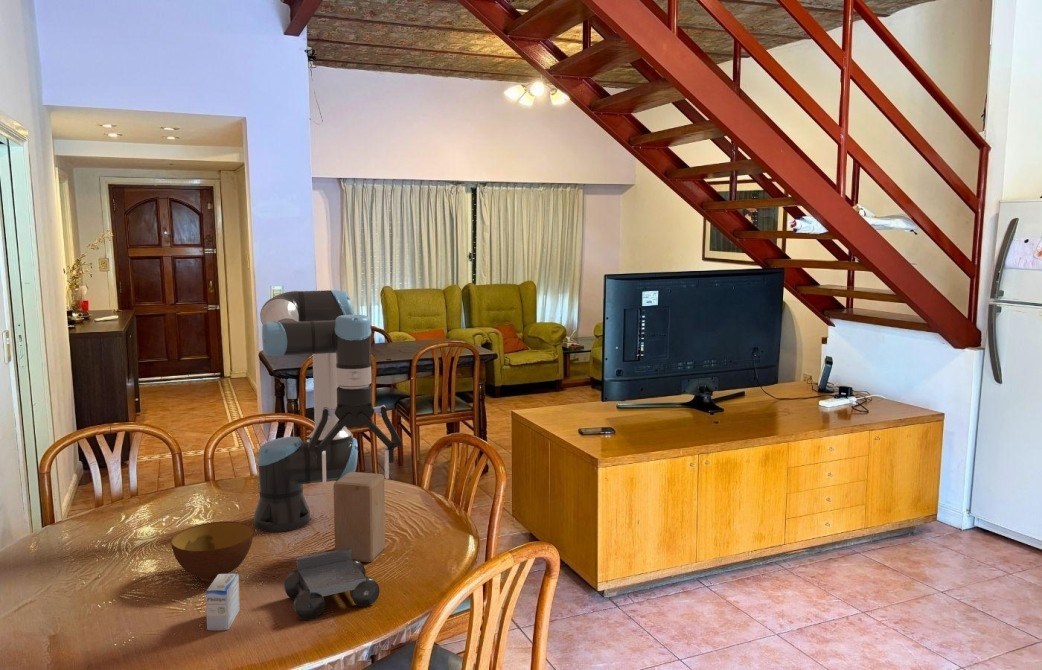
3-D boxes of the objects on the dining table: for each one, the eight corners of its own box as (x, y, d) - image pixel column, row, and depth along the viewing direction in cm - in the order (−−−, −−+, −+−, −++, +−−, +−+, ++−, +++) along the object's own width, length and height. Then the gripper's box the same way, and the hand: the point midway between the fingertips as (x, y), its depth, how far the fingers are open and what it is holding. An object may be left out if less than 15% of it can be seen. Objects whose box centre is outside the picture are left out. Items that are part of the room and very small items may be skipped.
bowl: (246, 590, 169) (244, 548, 167) (163, 596, 166) (161, 553, 165) (260, 558, 186) (258, 519, 185) (185, 562, 183) (183, 523, 182)
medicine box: (218, 612, 159) (217, 573, 158) (240, 611, 160) (238, 572, 159) (206, 631, 151) (204, 590, 150) (229, 630, 152) (227, 590, 151)
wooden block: (371, 564, 183) (370, 485, 180) (333, 560, 185) (331, 482, 182) (386, 548, 193) (385, 473, 190) (350, 544, 195) (349, 470, 192)
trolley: (283, 598, 165) (282, 560, 164) (363, 581, 174) (362, 544, 173) (296, 623, 155) (294, 582, 154) (379, 603, 164) (379, 564, 162)
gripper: (294, 391, 157) (297, 488, 160) (413, 386, 163) (413, 480, 166) (295, 384, 164) (298, 477, 167) (409, 380, 171) (410, 470, 173)
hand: (355, 479), depth 167 cm, fingers open, 13 cm apart
